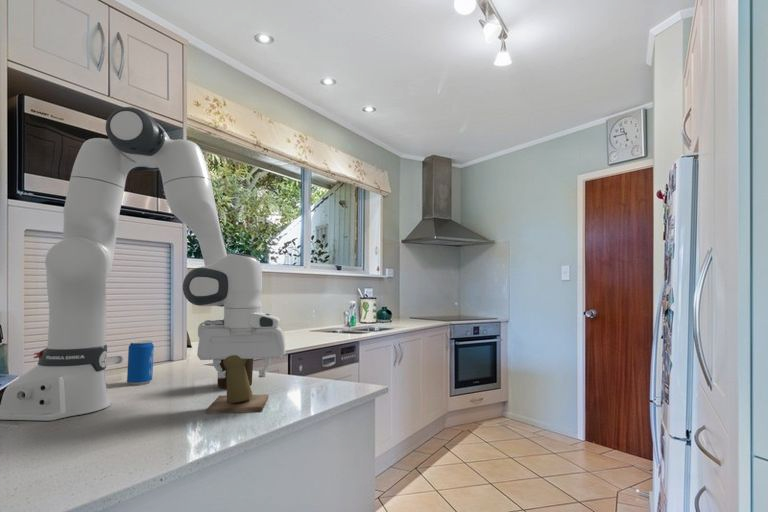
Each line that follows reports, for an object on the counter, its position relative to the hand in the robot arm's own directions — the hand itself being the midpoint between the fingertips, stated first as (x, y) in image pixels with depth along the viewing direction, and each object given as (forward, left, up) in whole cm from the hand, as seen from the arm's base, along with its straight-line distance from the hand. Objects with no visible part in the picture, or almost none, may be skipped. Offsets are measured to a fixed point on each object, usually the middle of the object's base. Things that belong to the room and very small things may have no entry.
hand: (242, 377), depth 105 cm
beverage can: (-34, +28, -7) cm, 44 cm away
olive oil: (-6, +22, -7) cm, 24 cm away
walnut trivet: (0, 0, -7) cm, 7 cm away
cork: (0, 0, -5) cm, 5 cm away
